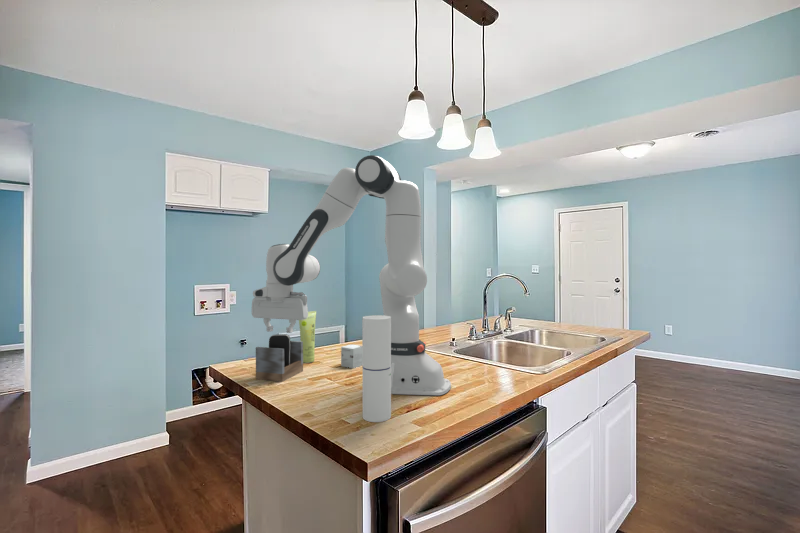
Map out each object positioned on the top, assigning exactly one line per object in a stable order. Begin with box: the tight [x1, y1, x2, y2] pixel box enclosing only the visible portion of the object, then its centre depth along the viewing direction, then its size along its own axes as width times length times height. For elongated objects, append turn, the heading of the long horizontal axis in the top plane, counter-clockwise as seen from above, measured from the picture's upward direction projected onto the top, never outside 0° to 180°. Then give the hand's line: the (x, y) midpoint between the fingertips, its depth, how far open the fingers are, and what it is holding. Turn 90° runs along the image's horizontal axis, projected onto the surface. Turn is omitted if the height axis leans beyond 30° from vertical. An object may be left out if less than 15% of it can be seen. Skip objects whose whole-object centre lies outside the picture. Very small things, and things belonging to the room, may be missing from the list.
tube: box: [298, 310, 317, 364], centre depth 154 cm, size 6×5×20 cm
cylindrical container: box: [361, 314, 392, 423], centre depth 100 cm, size 7×7×25 cm
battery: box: [268, 333, 291, 367], centre depth 136 cm, size 7×4×11 cm, turn 97°
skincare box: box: [340, 344, 363, 369], centre depth 148 cm, size 6×6×7 cm
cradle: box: [255, 340, 304, 383], centre depth 136 cm, size 10×13×10 cm
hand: (279, 331), depth 136 cm, fingers open, 6 cm apart
